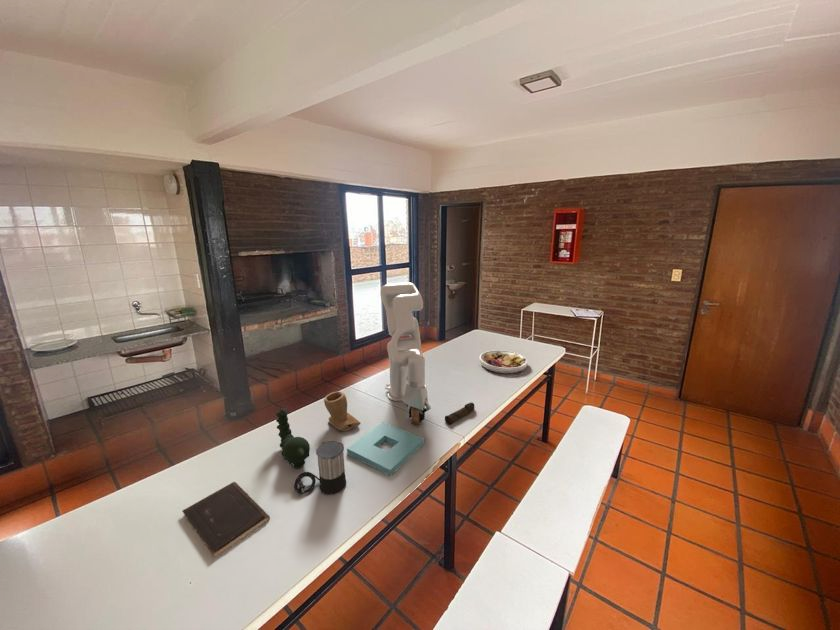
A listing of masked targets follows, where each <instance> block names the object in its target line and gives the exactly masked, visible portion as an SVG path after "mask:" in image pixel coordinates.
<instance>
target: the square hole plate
mask: <svg viewBox="0 0 840 630" xmlns="http://www.w3.org/2000/svg"><path fill="white" fill-rule="evenodd" d="M424 441H425V439H424V438H423V437H421V436H418V435H416V434H414V433H411V432H409V431H407V430H404V429H401V428H398V427H396V426H395V425H392V424H389V423H386V422H384V421H382V422H380V423H379V424H378V425H376V426H375V427H374V428H373V429H371V430H370V431H368V432H367V433H365V434H364V435H363V436H362V437H360V438H358V439H357V440H356V441H355V442H353V443H352V444H351V445H350V446H348V447H347V448H346V454H347V455H349V456H350V457H353V458H355V459H356V460H358V461H360V462H363V463H364V464H367V465H369V466H370V467H372V468H374V469H376V470H378V471H380V472H382V473H384V474H387V475H389V476H390V477H391V476H392V475H393V474H395V472H396V471H397V470H398V469H400V467H401V466H403V464H404V463H406V462H407V461H408V460H409V459H410V458H411V457H412V456H413V455H414V454H415V453H417V451H418V450H419V449H420V448H421V447H422V446H423V445H424V443H425V442H424ZM384 442H387V443H389V444H391V445H393V447H391V448H390V449H389V450H388V451H387V450H384V449H382V448H381V447H379V446H381V445H382V444H383V443H384Z"/></svg>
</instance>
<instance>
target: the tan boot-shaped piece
mask: <svg viewBox="0 0 840 630" xmlns="http://www.w3.org/2000/svg"><path fill="white" fill-rule="evenodd" d="M323 402H324V407H325V408H326V410H327V412H328V413H329V415H330V416H329V417H328V422H329V423H330V424H331V425H332V426H333V427H334V428H336V429H337V430H339V431H341V432H342V431H344V432H346V431H350V430H354V429H355V428H357V427H358V426H360V425H361V422H360V421H359V420H358V419H357V418H356V417H354V416H353V415H351V414H350V413H349V412H348V400H347V396H346V394H345V393H344V392H342V391H333V392H330V393H329V394H327V395H326V396H325V397H324V399H323Z"/></svg>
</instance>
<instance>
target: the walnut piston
mask: <svg viewBox="0 0 840 630" xmlns="http://www.w3.org/2000/svg"><path fill="white" fill-rule="evenodd" d="M419 414H420V410H419V409H417V408H414V407H411V418H410V424H411V425H412V426H414V427H419V426H421V425H423V421H421V422H420V421H419Z"/></svg>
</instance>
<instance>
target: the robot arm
mask: <svg viewBox="0 0 840 630" xmlns="http://www.w3.org/2000/svg"><path fill="white" fill-rule="evenodd" d="M380 298H381V301H382V304H383V306H384V309H385V313H386V323H387V329H388V334H389V336H390V337H391V339H390V340H389V342H387V345H386V350H387V355H388V362H389V364H388V365H389V383H386V385H385V387H384V389H385V390H388V391H387V398H388V399H389V400H391V401H394V402H403V403H404V404H405V406H406V407H407V410H408V419H411V407H414V408H417V409H419V410H420V414H419V421H420V422H421V421H422V422H423V420H425V417H426V416H425V414H426V413H427V412H428V411H430V410H431V409H432V407H431V406H430V404H429V397H428V390H427V386H426V377H425V376H426V374H425V373H426V371H425V369H426V359H425V357H424V355H423V352H422V343H421V333H420V324H419V321H418V319H417V318H416V317H414V314H413V312H418V311H419V312H420V311H422V310H423V307H424V300H423V297H422V294H421V293H420V291H419V289H418V287H417V286H416V285H415V284H414V283H413V282H398V283H397V282H395V283H387V284H384V285H382V286H381V288H380ZM403 336H409V337H403ZM400 337H401V338H400Z"/></svg>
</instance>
